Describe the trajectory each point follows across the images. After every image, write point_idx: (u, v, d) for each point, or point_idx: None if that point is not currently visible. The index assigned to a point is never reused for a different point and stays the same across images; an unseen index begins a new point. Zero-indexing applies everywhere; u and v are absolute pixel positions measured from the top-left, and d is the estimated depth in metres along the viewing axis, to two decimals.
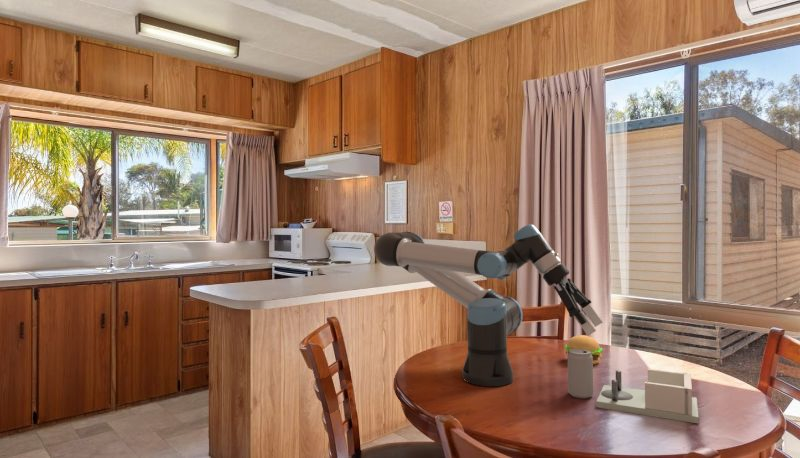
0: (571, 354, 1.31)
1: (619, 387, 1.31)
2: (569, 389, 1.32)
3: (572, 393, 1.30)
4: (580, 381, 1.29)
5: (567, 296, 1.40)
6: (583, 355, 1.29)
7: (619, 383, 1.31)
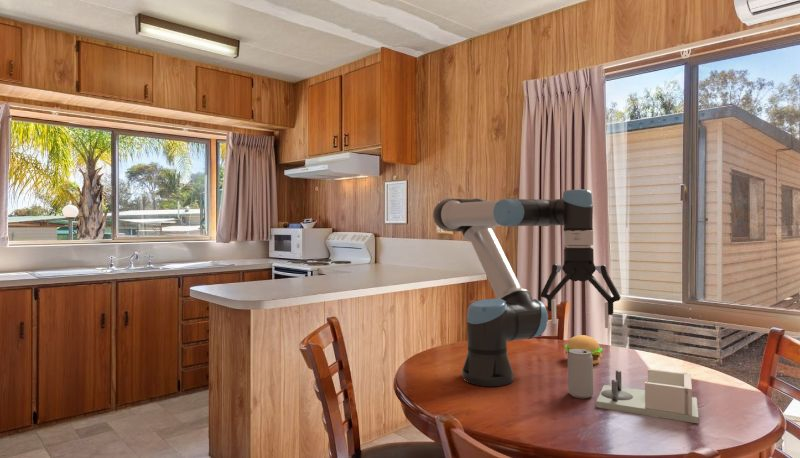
0: (571, 354, 1.31)
1: (619, 387, 1.31)
2: (569, 389, 1.32)
3: (572, 393, 1.30)
4: (580, 381, 1.29)
5: None
6: (583, 355, 1.29)
7: (619, 383, 1.31)
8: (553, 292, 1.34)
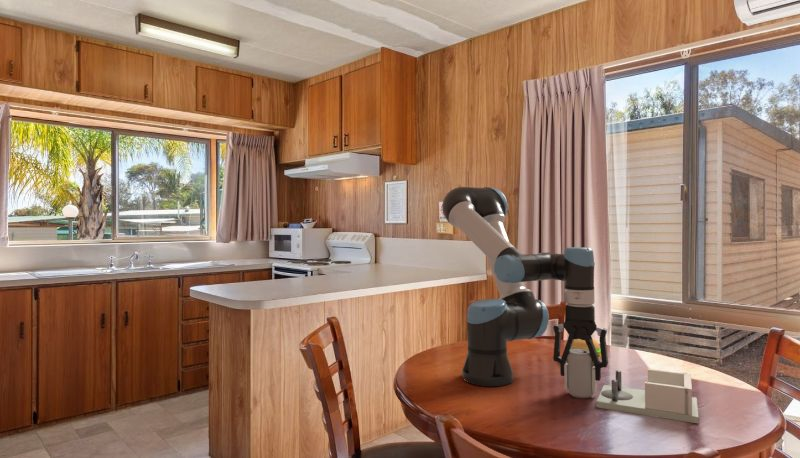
0: (571, 354, 1.31)
1: (619, 387, 1.31)
2: (569, 389, 1.32)
3: (572, 393, 1.30)
4: (580, 381, 1.29)
5: None
6: (583, 355, 1.29)
7: (619, 383, 1.31)
8: (564, 355, 1.33)
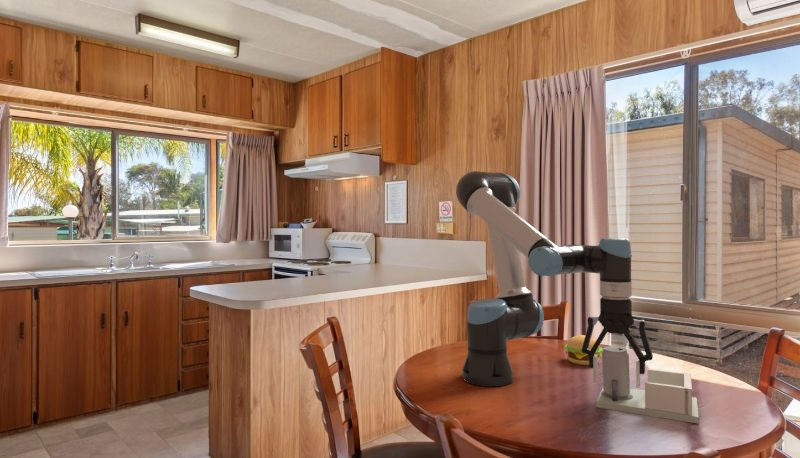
0: (606, 352, 1.27)
1: None
2: (605, 388, 1.27)
3: (608, 392, 1.26)
4: None
5: None
6: (619, 353, 1.25)
7: None
8: (594, 347, 1.29)
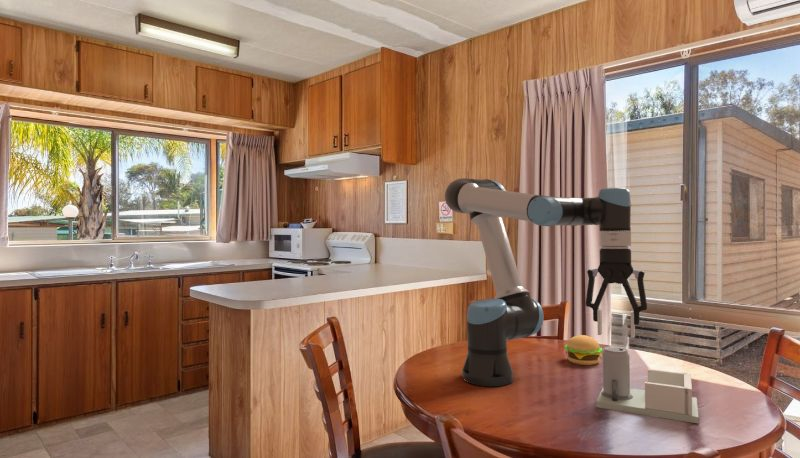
0: (607, 352, 1.27)
1: None
2: (605, 388, 1.27)
3: (608, 392, 1.26)
4: (617, 380, 1.24)
5: None
6: (620, 353, 1.25)
7: None
8: (597, 300, 1.28)
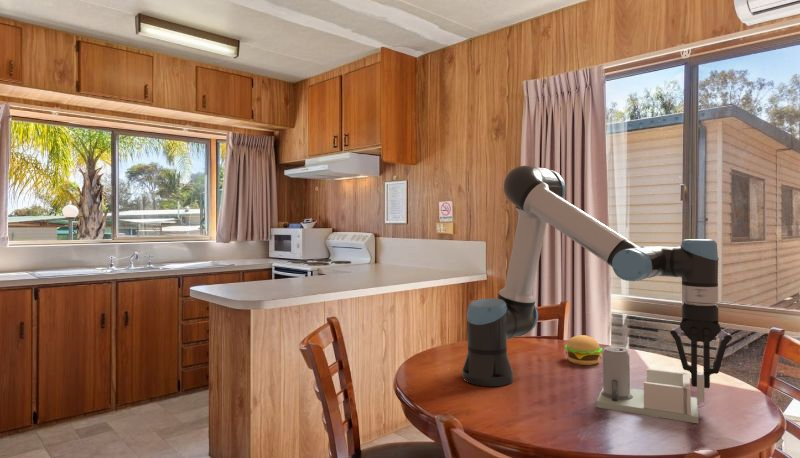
0: (607, 352, 1.27)
1: None
2: (605, 388, 1.27)
3: (608, 392, 1.26)
4: (617, 380, 1.24)
5: None
6: (620, 353, 1.25)
7: None
8: (693, 363, 1.18)
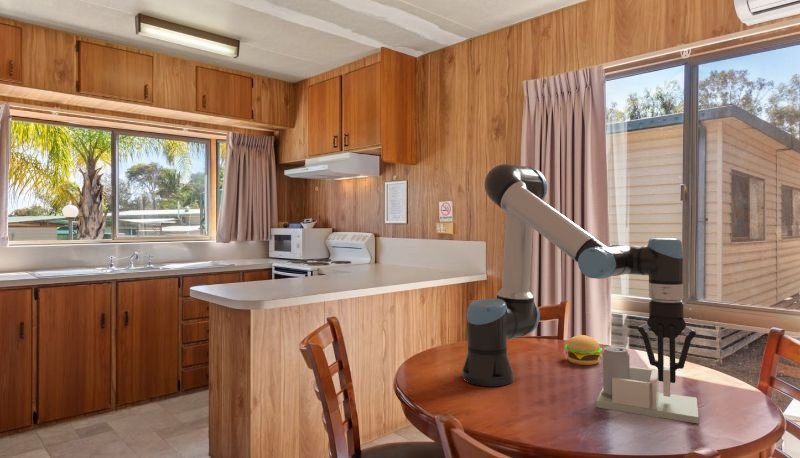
0: (607, 352, 1.27)
1: None
2: (605, 388, 1.27)
3: (608, 392, 1.26)
4: None
5: (645, 345, 1.23)
6: (620, 353, 1.25)
7: None
8: (660, 359, 1.21)
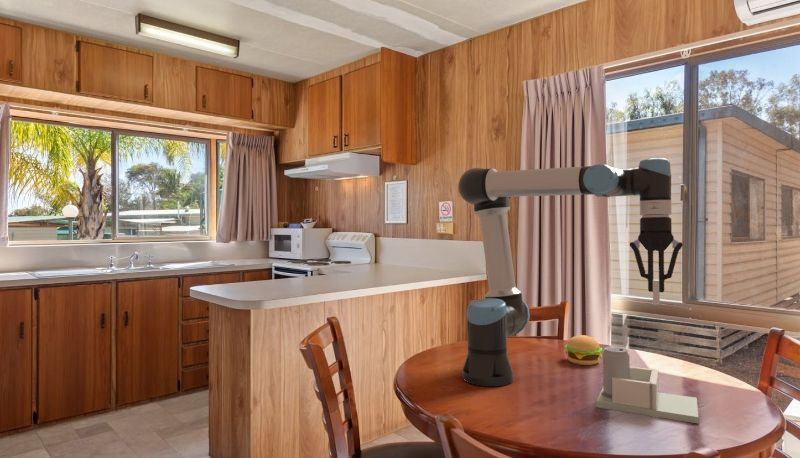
0: (607, 352, 1.27)
1: None
2: (605, 388, 1.27)
3: (608, 392, 1.26)
4: None
5: (636, 259, 1.33)
6: (620, 353, 1.25)
7: None
8: (649, 270, 1.31)
